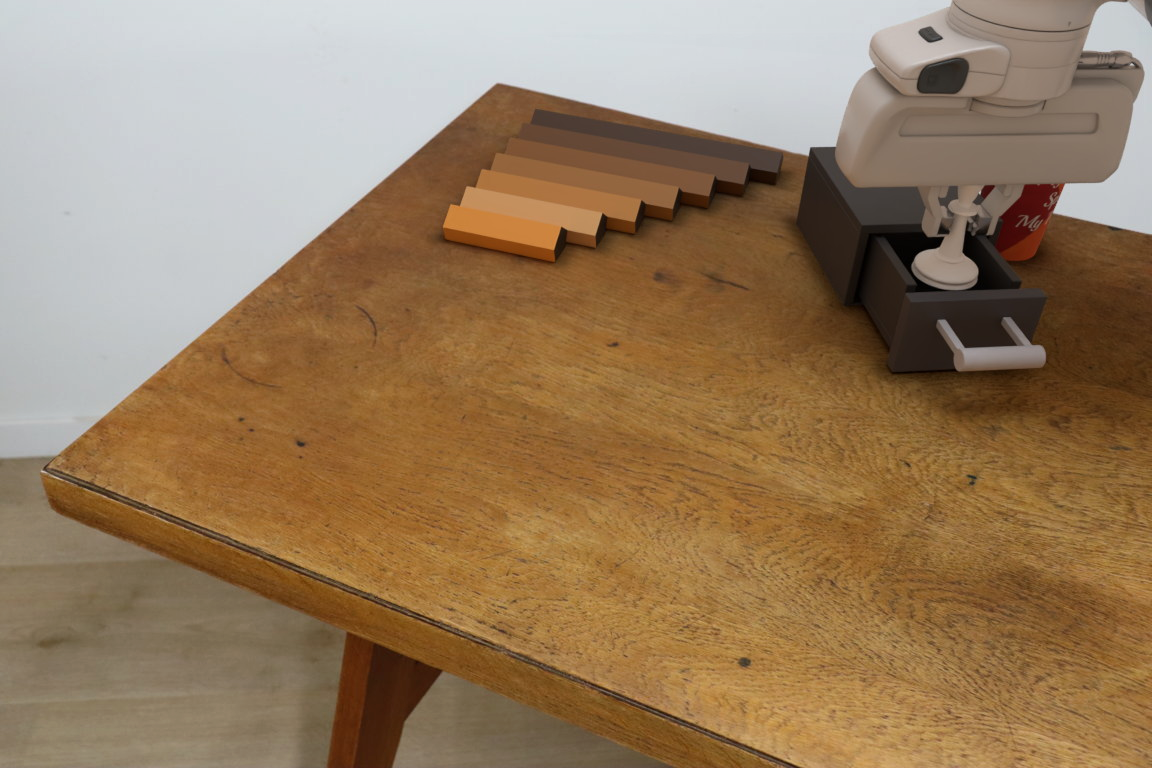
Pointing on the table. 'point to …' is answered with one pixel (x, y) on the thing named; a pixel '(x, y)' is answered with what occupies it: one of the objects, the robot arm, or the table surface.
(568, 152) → the pan flute
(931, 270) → the chess piece
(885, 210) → the small storage cabinet
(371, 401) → the table surface
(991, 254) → the drawer
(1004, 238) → the paper cup
